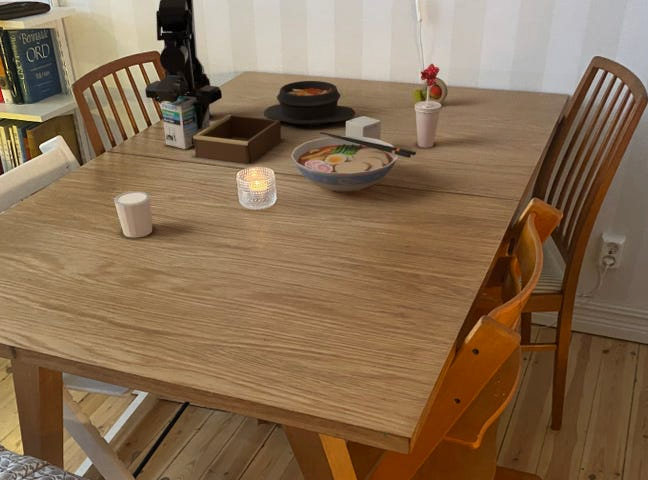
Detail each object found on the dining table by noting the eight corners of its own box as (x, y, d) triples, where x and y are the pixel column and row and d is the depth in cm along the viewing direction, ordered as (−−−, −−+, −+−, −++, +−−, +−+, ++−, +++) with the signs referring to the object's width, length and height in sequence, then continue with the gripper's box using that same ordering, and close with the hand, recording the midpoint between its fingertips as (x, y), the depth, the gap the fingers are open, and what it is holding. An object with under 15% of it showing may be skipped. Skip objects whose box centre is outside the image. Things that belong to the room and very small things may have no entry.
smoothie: (409, 147, 179) (412, 88, 170) (416, 139, 183) (419, 81, 175) (435, 150, 176) (439, 90, 168) (441, 142, 181) (446, 83, 173)
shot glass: (125, 242, 141) (119, 207, 137) (116, 228, 146) (109, 195, 142) (160, 233, 143) (154, 200, 139) (149, 221, 148) (143, 188, 144)
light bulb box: (185, 150, 182) (181, 106, 176) (164, 145, 185) (159, 101, 179) (212, 137, 189) (208, 94, 183) (191, 132, 192) (187, 90, 186)
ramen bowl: (267, 188, 161) (265, 151, 156) (335, 159, 174) (335, 124, 169) (355, 218, 146) (356, 179, 142) (422, 184, 160) (425, 147, 155)
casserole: (360, 111, 203) (361, 80, 199) (348, 133, 189) (348, 99, 184) (273, 107, 209) (272, 77, 204) (255, 128, 194) (252, 96, 189)
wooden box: (195, 156, 178) (193, 136, 175) (230, 134, 191) (228, 114, 188) (249, 163, 173) (247, 142, 170) (281, 140, 186) (280, 120, 183)
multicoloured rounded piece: (440, 110, 209) (413, 94, 210) (459, 74, 202) (430, 58, 202) (434, 116, 204) (406, 100, 205) (453, 80, 197) (424, 63, 198)
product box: (362, 157, 174) (363, 126, 170) (344, 151, 178) (344, 120, 174) (380, 150, 177) (381, 120, 173) (362, 144, 181) (363, 115, 177)
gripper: (127, 67, 173) (138, 133, 182) (195, 73, 167) (203, 141, 176) (153, 56, 182) (162, 119, 191) (219, 61, 175) (225, 127, 184)
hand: (187, 127), depth 185 cm, fingers closed on light bulb box, 7 cm apart
